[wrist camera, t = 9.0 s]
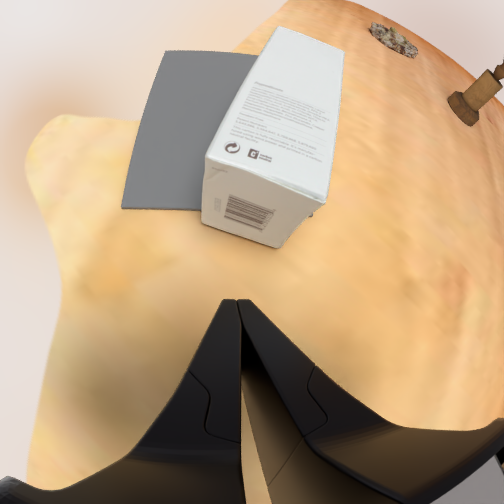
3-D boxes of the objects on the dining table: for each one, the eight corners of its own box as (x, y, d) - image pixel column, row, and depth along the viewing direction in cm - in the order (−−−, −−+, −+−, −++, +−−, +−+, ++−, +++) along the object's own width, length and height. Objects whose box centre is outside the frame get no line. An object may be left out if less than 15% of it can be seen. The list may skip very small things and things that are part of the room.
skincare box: (327, 206, 11) (353, 49, 16) (193, 156, 11) (279, 20, 15) (277, 253, 19) (316, 111, 24) (195, 223, 19) (258, 89, 23)
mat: (311, 216, 21) (313, 215, 20) (122, 208, 18) (121, 207, 18) (287, 62, 26) (288, 60, 26) (165, 52, 24) (165, 50, 23)
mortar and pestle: (460, 123, 32) (522, 63, 15) (442, 94, 33) (495, 34, 16) (476, 128, 33) (533, 77, 16) (459, 102, 35) (510, 49, 18)
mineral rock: (373, 29, 32) (376, 11, 32) (363, 43, 36) (367, 24, 37) (422, 61, 33) (422, 40, 34) (410, 72, 37) (411, 51, 38)
